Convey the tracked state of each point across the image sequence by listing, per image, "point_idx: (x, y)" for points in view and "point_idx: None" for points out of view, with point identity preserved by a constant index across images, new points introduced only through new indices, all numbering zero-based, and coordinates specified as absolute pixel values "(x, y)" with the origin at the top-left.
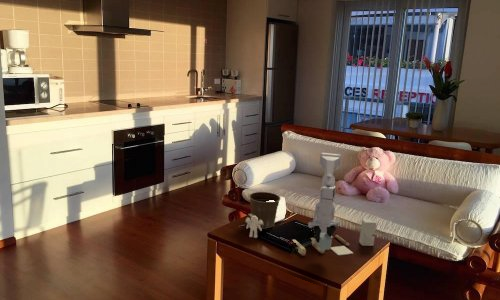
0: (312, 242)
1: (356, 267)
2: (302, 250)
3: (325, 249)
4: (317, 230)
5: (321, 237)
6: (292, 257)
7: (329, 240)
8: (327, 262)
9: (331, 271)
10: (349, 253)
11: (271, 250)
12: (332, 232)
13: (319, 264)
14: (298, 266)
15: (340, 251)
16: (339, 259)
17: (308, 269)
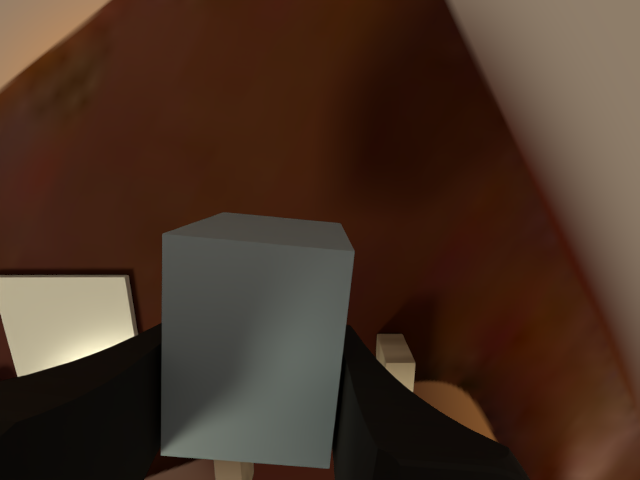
0: (247, 465)
1: (64, 51)
2: (412, 360)
3: (287, 219)
4: (509, 456)
5: (330, 330)
6: (485, 325)
7: (219, 234)
8: (269, 194)
9: (316, 40)
10: (26, 276)
11: (562, 441)
12: (54, 376)
13: (350, 180)
14: (527, 190)
15: (87, 320)
16: (149, 216)
17: (482, 124)
